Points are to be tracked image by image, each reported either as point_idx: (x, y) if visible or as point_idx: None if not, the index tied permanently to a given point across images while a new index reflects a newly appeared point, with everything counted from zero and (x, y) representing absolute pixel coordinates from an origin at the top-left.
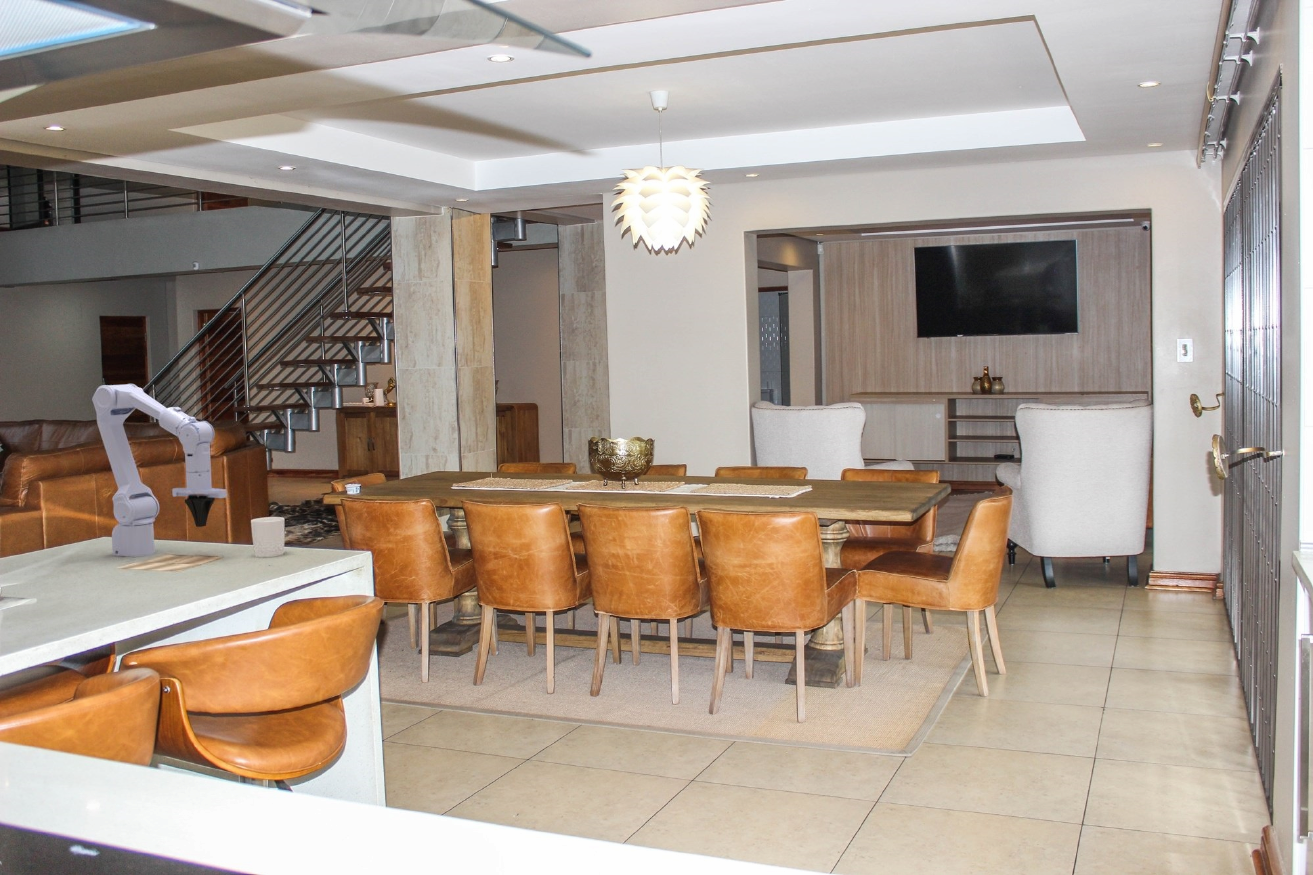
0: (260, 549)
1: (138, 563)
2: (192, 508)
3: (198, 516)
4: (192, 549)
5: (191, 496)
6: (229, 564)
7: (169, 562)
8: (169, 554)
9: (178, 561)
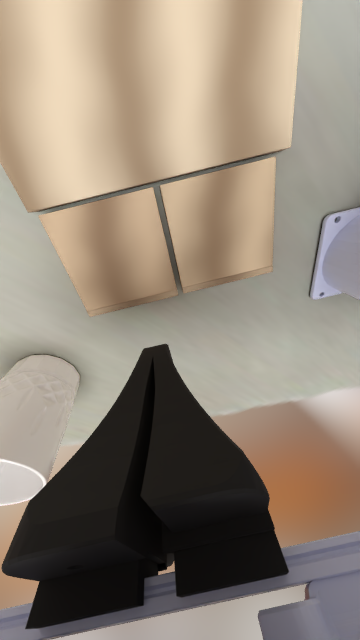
0: (10, 376)
1: (272, 112)
2: (168, 416)
3: (134, 381)
4: (291, 363)
5: (237, 562)
6: (60, 304)
7: (172, 189)
8: (261, 272)
9: (155, 214)
